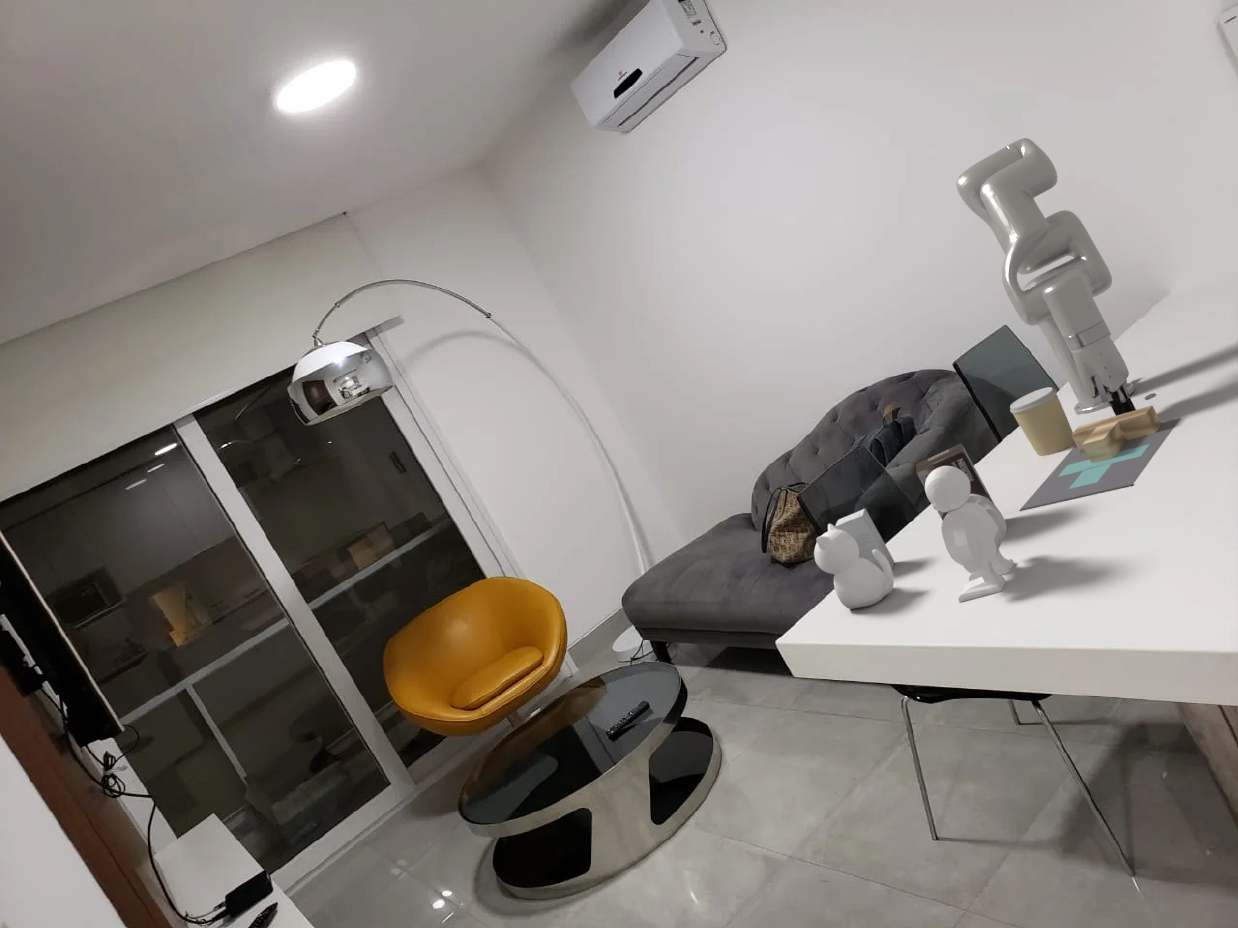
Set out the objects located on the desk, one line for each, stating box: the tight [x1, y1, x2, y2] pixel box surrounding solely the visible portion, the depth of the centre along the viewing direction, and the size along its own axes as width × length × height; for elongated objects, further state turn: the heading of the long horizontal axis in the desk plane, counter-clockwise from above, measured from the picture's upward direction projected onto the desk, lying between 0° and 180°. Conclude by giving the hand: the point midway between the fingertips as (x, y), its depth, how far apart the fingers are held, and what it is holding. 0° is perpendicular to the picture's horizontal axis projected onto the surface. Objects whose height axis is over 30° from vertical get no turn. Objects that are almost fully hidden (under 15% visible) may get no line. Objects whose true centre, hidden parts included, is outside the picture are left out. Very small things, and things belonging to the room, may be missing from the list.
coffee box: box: [915, 442, 996, 521], centre depth 160 cm, size 9×6×16 cm
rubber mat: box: [1019, 417, 1181, 512], centre depth 161 cm, size 28×20×1 cm
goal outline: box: [1058, 444, 1150, 489], centre depth 160 cm, size 13×15×1 cm
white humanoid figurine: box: [924, 466, 1015, 603], centre depth 138 cm, size 14×9×20 cm, turn 142°
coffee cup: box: [1009, 386, 1075, 457], centre depth 183 cm, size 9×9×12 cm
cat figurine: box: [813, 523, 895, 610], centre depth 157 cm, size 9×12×15 cm
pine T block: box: [1072, 405, 1162, 463], centre depth 165 cm, size 12×14×4 cm
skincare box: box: [834, 508, 895, 573], centre depth 169 cm, size 6×4×12 cm
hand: (1129, 419), depth 172 cm, fingers closed
